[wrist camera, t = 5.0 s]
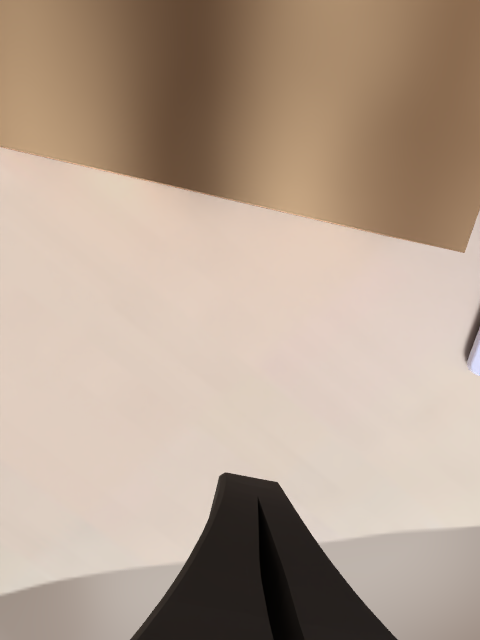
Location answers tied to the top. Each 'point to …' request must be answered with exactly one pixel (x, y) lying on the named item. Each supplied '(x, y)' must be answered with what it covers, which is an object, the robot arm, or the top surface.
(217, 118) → the box lid
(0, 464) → the top surface
